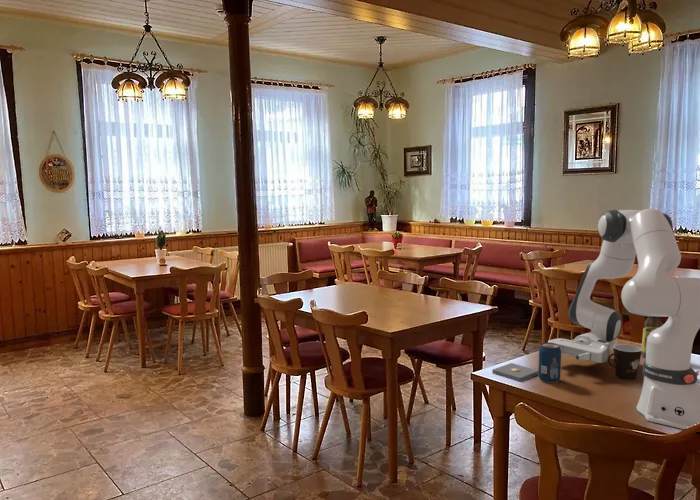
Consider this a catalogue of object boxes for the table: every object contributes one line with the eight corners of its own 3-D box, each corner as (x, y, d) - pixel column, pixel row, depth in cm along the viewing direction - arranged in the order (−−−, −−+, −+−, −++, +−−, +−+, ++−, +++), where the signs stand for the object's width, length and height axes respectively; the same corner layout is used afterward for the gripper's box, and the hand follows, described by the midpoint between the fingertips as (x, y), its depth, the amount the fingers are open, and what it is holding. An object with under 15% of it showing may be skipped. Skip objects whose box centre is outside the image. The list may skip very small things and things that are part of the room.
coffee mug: (634, 372, 197) (635, 344, 195) (644, 381, 188) (646, 352, 187) (599, 372, 198) (600, 343, 197) (607, 380, 189) (609, 351, 188)
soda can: (545, 375, 195) (546, 340, 194) (564, 380, 190) (565, 345, 189) (533, 379, 191) (535, 344, 190) (552, 385, 186) (554, 349, 184)
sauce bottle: (642, 358, 212) (645, 306, 209) (640, 354, 217) (642, 302, 215) (661, 360, 209) (664, 307, 207) (659, 355, 215) (662, 303, 213)
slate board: (538, 374, 196) (538, 370, 196) (519, 381, 190) (519, 377, 189) (511, 366, 205) (511, 362, 205) (492, 373, 198) (492, 369, 198)
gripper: (559, 332, 212) (538, 339, 203) (614, 344, 196) (593, 352, 187) (559, 348, 212) (537, 356, 204) (613, 362, 197) (592, 370, 188)
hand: (565, 354), depth 195 cm, fingers open, 8 cm apart
